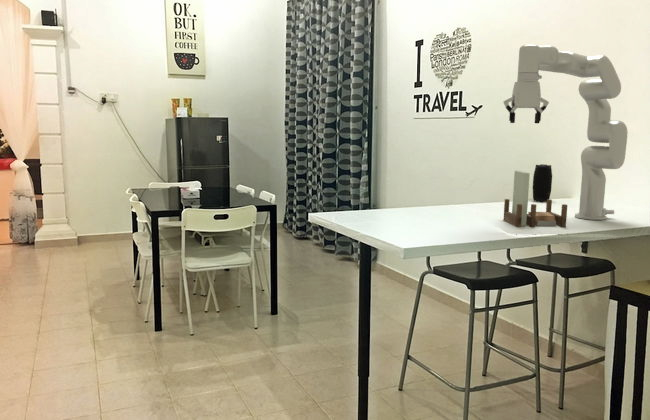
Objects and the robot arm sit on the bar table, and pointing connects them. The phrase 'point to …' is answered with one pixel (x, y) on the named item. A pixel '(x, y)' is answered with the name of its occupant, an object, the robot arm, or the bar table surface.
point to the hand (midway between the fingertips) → (524, 123)
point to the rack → (533, 214)
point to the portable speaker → (542, 182)
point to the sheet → (521, 194)
